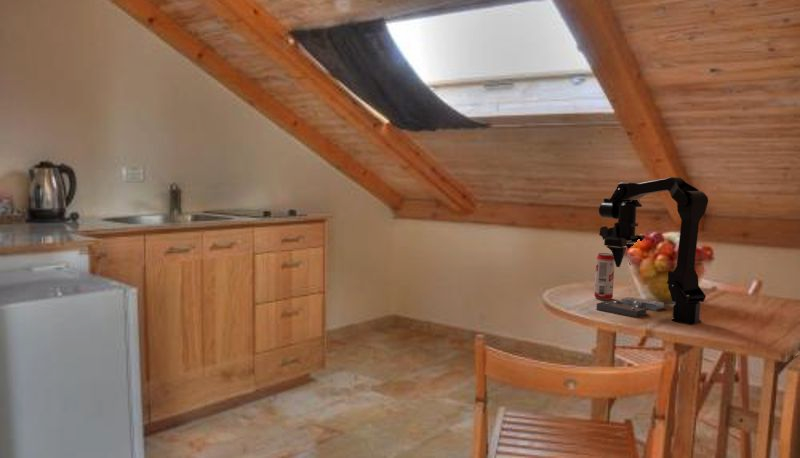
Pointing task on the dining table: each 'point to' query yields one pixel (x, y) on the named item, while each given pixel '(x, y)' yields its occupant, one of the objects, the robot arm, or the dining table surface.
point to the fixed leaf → (622, 308)
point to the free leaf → (643, 303)
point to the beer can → (604, 276)
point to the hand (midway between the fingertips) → (624, 265)
